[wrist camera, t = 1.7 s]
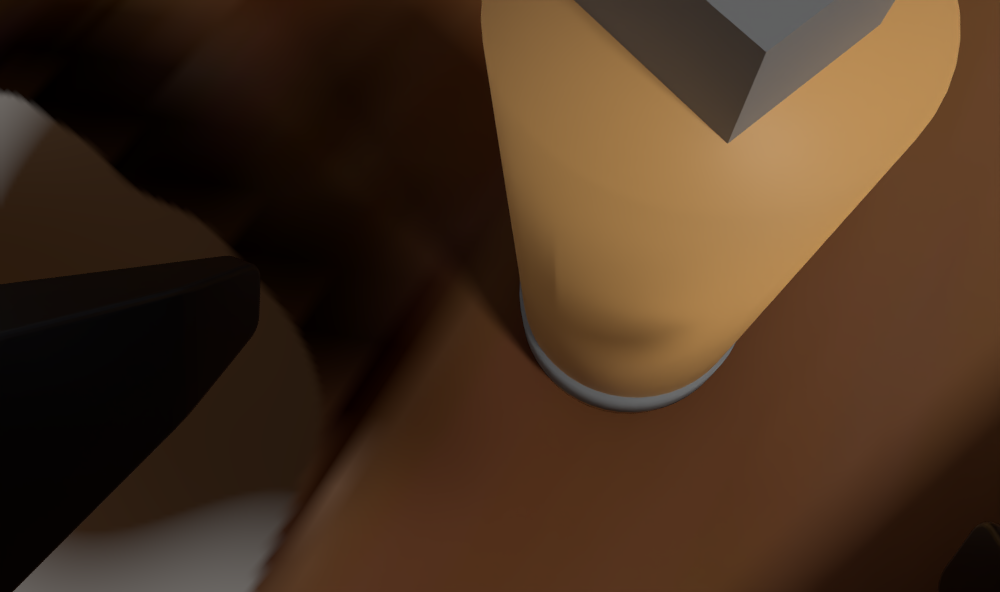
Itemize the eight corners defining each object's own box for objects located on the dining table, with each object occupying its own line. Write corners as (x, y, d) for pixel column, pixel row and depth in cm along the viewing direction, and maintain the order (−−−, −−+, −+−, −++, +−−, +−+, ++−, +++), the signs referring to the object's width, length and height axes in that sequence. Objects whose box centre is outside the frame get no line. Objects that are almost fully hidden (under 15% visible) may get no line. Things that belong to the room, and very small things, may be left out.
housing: (613, 460, 20) (739, 276, 6) (484, 305, 21) (345, -119, 8) (768, 330, 20) (1198, -100, 7) (631, 190, 22) (748, -380, 8)
